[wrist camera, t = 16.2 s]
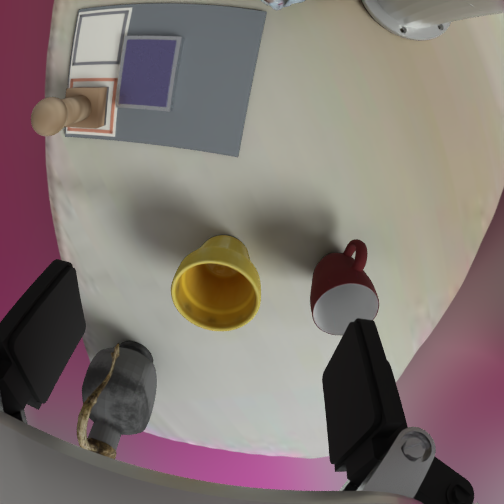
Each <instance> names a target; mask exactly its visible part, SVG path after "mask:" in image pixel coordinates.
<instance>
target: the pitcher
mask: <svg viewBox="0 0 504 504" xmlns="http://www.w3.org/2000/svg"><path fill="white" fill-rule="evenodd" d="M156 386H157V379H156V370H155V367H154V365H153V358H152V355H151V353H150V352H149V351H148V349H147V348H145V347H144V346H143V345H141V344H138V343H136V342H130V341H126V342H123V343H122V344H121V345H120V346H119V343H118V344H117V345H116V347H113V348H108V349H103V350H101V351H100V352H98V353H97V354H96V356H95V357H94V358H93V360H92V361H91V363H90V365H89V367H88V370H87V373H86V376H85V379H84V382H83V386H82V397H83V407H82V409H81V411H80V413H79V417H78V423H77V438H78V442H79V445H80V447H81V448H84V449H86V450H89V451H92V452H95V453H97V454H100V455H103V456H106V457H109V458H112V459H115V457H116V449H117V446H118V443H119V440H120V437H121V434H122V435H123V434H124V435H131V434H137V433H141V432H143V431H144V430H145V428H146V426H147V424H148V422H149V419H150V416H151V413H152V409H153V405H154V401H155V395H156ZM89 418H90V419H91V420H92V421H93V422H94V424H93V426H92V429H91V431H90V434H89V436H88V438H87V435H86V427H87V422H88V419H89Z"/></svg>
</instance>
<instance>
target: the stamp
mask: <svg viewBox="0 0 504 504" xmlns="http://www.w3.org/2000/svg"><path fill="white" fill-rule="evenodd" d="M108 93H109V87H73V88H67V89H66V98H65V99H59V98H56V97H48V98H45V99H43V100H41V101H40V102H39V103H38V104H37V105H36V106H35V108H34V109H33V112H32V115H31V123H32V127H33V129H34V130H35V131H36V132H37V133H38V134H40V135H42V136H52V135H55V134H56V133H58V132H59V131H61V130H62V128H63V127H76V128H94V129H97V128H99V127H102V126H105V125H106V115H107V103H108Z"/></svg>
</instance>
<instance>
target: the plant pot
mask: <svg viewBox="0 0 504 504" xmlns="http://www.w3.org/2000/svg"><path fill="white" fill-rule="evenodd" d="M171 296H172V300H173V303H174V305H175V307H176V308H177V310H178V311H179V313H180V314H181V315H182V316H183V317H184V318H186V319H187V320H188V321H190V322H191V323H193V324H194V325H196V326H199V327H201V328H204V329H208V330H212V331H230V330H234V329H237V328H240V327H242V326H244V325H245V324H247V323H248V322H250V321H251V320H252V319H253V318H254V316H255V315H256V313H257V311H258V309H259V306H260V301H261V284H260V278H259V274H258V272H257V270H256V268H255V267H254V265H253V264H252V263H251V261H250V258H249V255H248V251H247V249H246V247H245V245H244V244H243V243H242V242H241V241H239V240H238V239H236V238H234V237H231V236H227V235H219V236H215V237H212V238H210V239H209V240H207V241H206V242H205V243H204V244H203V245H202V246H201V247H200V248H199V249H198V250H195V251H193V252H192V253H190V254H189V255H188V256H186V257H185V259H184V260H183V261H182V262H181V264H180V266H179V267H178V269H177V271H176V274H175V276H174V278H173V281H172V285H171Z"/></svg>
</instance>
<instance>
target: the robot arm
mask: <svg viewBox="0 0 504 504" xmlns="http://www.w3.org/2000/svg"><path fill="white" fill-rule="evenodd" d="M362 2H363V4H364V6H365V8H366V9H367V11H368V12H369V14H370V15H371V16H372V17H373V18H374V19H375V20H376V21H377V22H378V23H379V24H380V25H381V26H383V27H384V28H385V29H387V30H388V31H390V32H392V33H393V34H395V35H398V36H400V37H402V38H406V39H410V40H418V41H420V40H429V39H433V38H436V37H438V36H440V35H441V34H443V33H444V32H445V31H446V30H447V28H448V27H449V26H450V23H451V22H453V21H458V20H463V19H468V18H474V17H479V16H486V15H492V14H499V13H504V0H362ZM438 27H439V28H438ZM400 29H401V30H402V32H401V31H400ZM85 328H86V324H85V319H84V314H83V309H82V304H81V299H80V293H79V288H78V282H77V275H76V270H75V268H73V267H72V264H71V263H70V262H66V261H62V260H58V259H56V260H54V261H53V262H52V263H51V264H50V265H49V266H48V267H47V268H46V270H45V271H44V272H43V273H42V274H41V275H40V276H39V277H38V278H37V280H35V282H34V283H33V284H32V285H31V286H30V287H29V289H28V290H27V291H26V292H25V293H24V294H23V295H22V297H21V298H20V299H19V300H18V301H17V303H16V304H15V305H14V306H13V307H12V309H11V310H10V311H9V312H8V313H7V315H6V316H5V317H4V318H3V320H2V321H1V323H0V504H474V503H473V500H474V491H473V487H472V486H471V484H470V482H469V481H468V480H466V479H465V478H464V477H462V476H461V475H459V474H458V473H457V472H455V471H454V470H453V469H451V468H450V467H448V466H447V465H445V464H444V463H443V462H442V461H440V460H438V459H437V458H436V457H435V451H436V450H435V443H434V441H433V439H432V437H431V436H430V434H428V433H427V432H426V431H425V430H423V429H421V428H418V427H409V428H408V427H407V423H406V419H405V416H404V412H403V408H402V404H401V400H400V397H399V393H398V390H397V386H396V383H395V379H394V376H393V372H392V369H391V366H390V364H389V362H388V361H387V359H386V356H385V353H384V350H383V347H382V343H381V340H380V337H379V334H378V331H377V328H376V325H375V322H374V321H373V320H368V319H360V318H357V319H356V320H355V321H354V322H350V323H349V325H348V327H347V329H346V331H345V333H344V335H343V337H342V339H341V340H340V342H339V344H338V346H337V348H336V350H335V352H334V354H333V356H332V358H331V360H330V361H329V363H328V365H327V367H326V369H325V371H324V373H323V378H322V382H323V391H324V401H325V411H326V421H327V432H328V443H329V456H330V462H331V464H335V472H339V471H340V472H342V471H347V479H348V481H347V482H346V483H345V484H344V486H343V487H342V488H341V489H340V490H339V491H294V490H275V489H261V488H250V487H241V486H233V485H225V484H218V483H211V482H206V481H200V480H195V479H189V478H184V477H179V476H175V475H170V474H165V473H162V472H158V471H153V470H150V469H146V468H142V467H138V466H135V465H131V464H128V463H125V462H122V461H118V460H115V459H112V458H109V457H106V456H103V455H100V454H97V453H95V452H92V451H89V450H86V449H84V448H81V447H78V446H76V445H73V444H71V443H68V442H66V441H63V440H61V439H59V438H56V437H54V436H52V435H50V434H47V433H45V432H43V431H41V430H39V429H37V428H34V427H32V426H30V425H28V424H27V421H26V416H25V412H24V408H25V406H26V404H28V405H30V406H32V407H34V408H36V409H39V408H40V406H41V404H42V403H46V401H47V400H48V398H49V396H50V394H51V392H52V390H53V388H54V386H55V384H56V383H57V381H58V379H59V376H60V375H61V373H62V371H63V370H64V368H65V366H66V364H67V362H68V360H69V359H70V357H71V355H72V353H73V352H74V350H75V348H76V346H77V345H78V343H79V341H80V339H81V338H82V336H83V334H84V332H85ZM476 504H478V503H476Z"/></svg>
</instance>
